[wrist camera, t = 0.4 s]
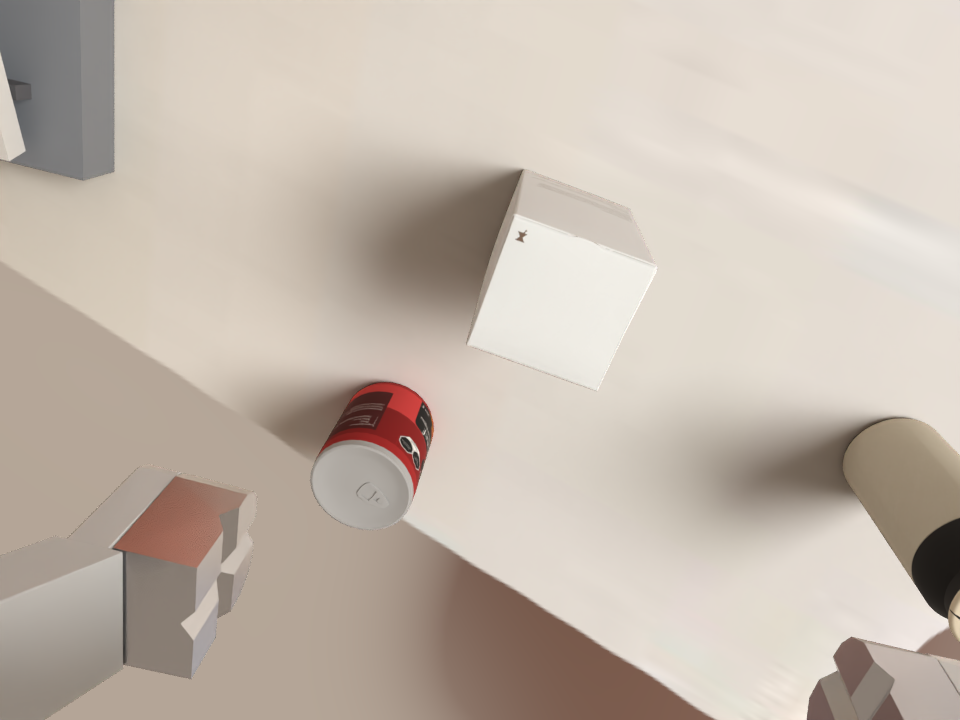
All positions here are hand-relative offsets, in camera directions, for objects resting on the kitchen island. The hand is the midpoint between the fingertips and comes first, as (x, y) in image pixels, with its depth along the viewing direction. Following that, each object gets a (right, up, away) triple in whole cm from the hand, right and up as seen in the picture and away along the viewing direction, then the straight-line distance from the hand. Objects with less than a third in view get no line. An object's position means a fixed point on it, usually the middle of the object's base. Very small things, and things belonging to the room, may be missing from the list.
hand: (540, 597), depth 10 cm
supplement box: (+5, +12, +45) cm, 47 cm away
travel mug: (+34, -5, +50) cm, 61 cm away
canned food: (-9, -2, +53) cm, 54 cm away
